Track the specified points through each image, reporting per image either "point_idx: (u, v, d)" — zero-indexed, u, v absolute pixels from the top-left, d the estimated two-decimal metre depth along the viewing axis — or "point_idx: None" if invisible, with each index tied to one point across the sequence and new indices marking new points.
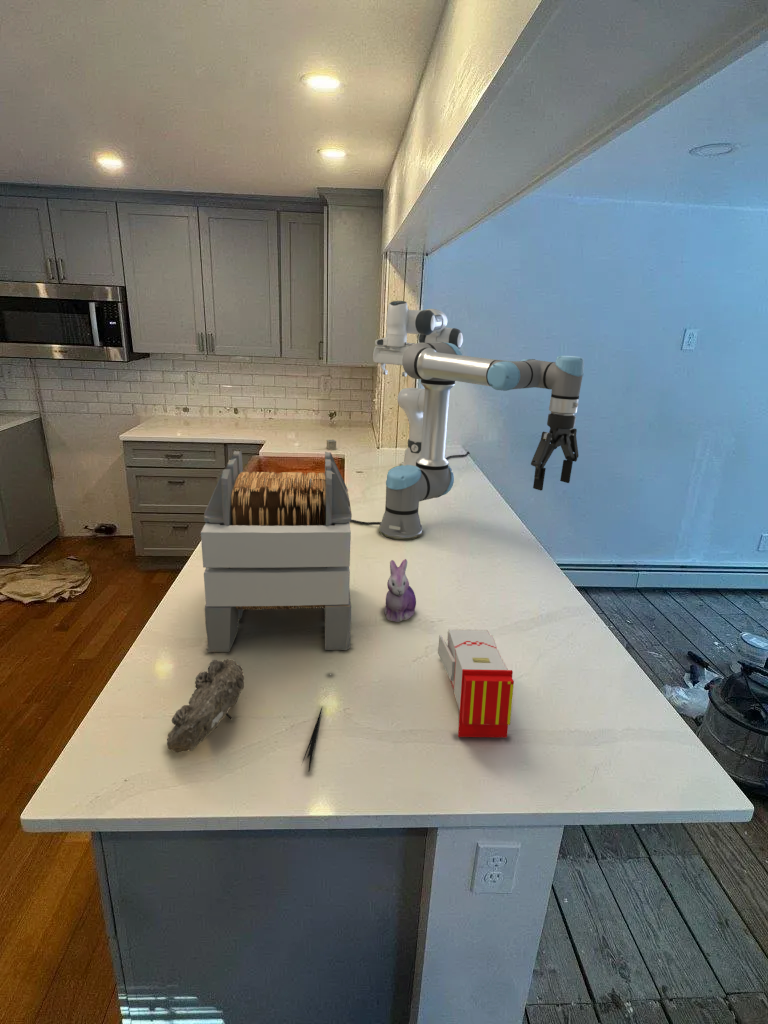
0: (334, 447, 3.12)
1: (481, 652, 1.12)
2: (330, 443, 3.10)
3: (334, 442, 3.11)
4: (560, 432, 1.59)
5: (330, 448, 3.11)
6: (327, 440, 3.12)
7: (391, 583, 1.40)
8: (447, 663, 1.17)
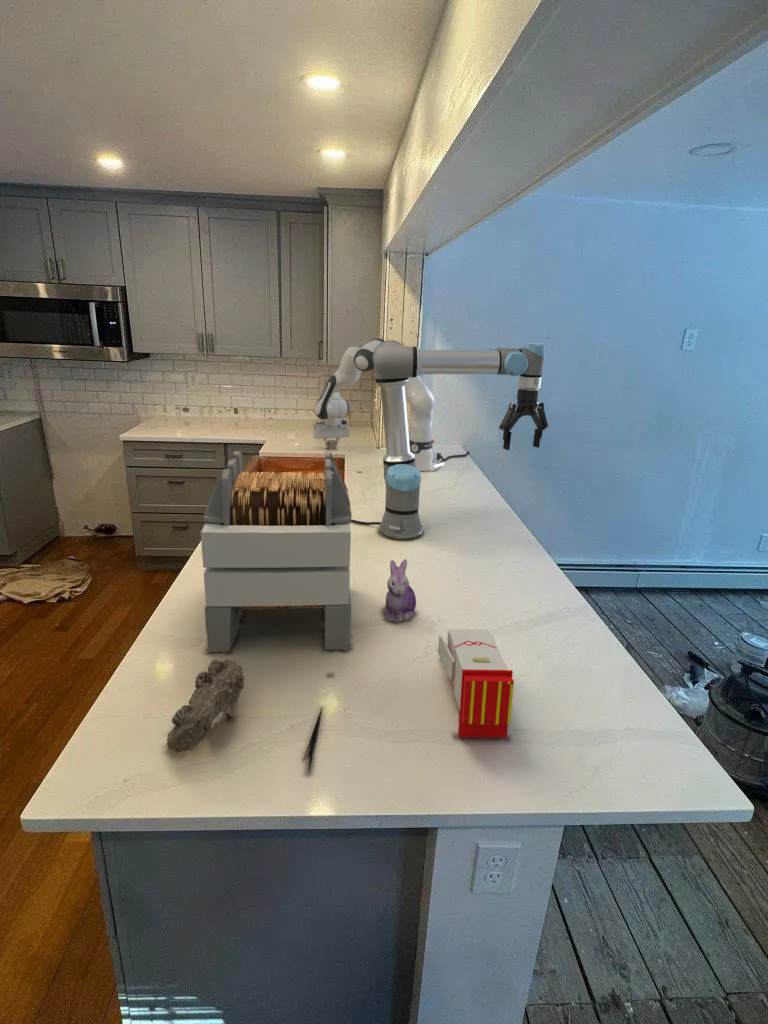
0: (334, 447, 3.12)
1: (481, 652, 1.12)
2: (330, 443, 3.10)
3: (334, 442, 3.11)
4: (526, 404, 1.99)
5: (330, 448, 3.11)
6: (327, 440, 3.12)
7: (391, 583, 1.40)
8: (447, 663, 1.17)
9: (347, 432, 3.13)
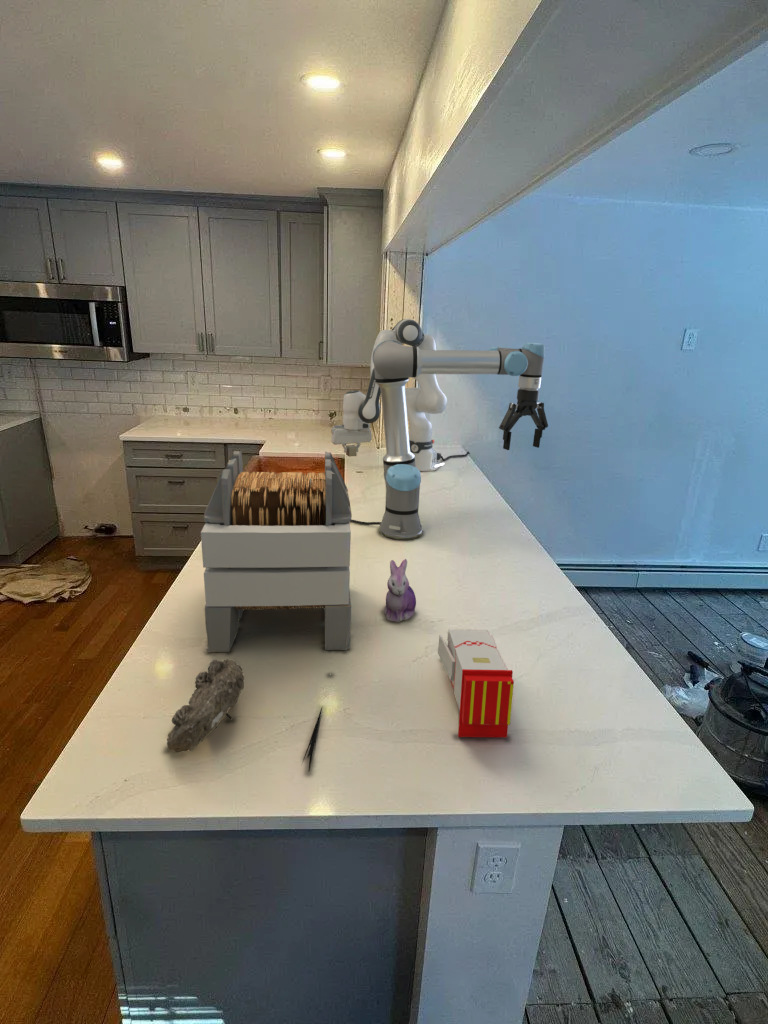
0: (354, 453, 2.79)
1: (481, 652, 1.12)
2: (350, 449, 2.77)
3: (354, 448, 2.78)
4: (526, 404, 1.99)
5: (350, 455, 2.78)
6: (346, 446, 2.79)
7: (391, 583, 1.40)
8: (447, 663, 1.17)
9: (369, 437, 2.79)
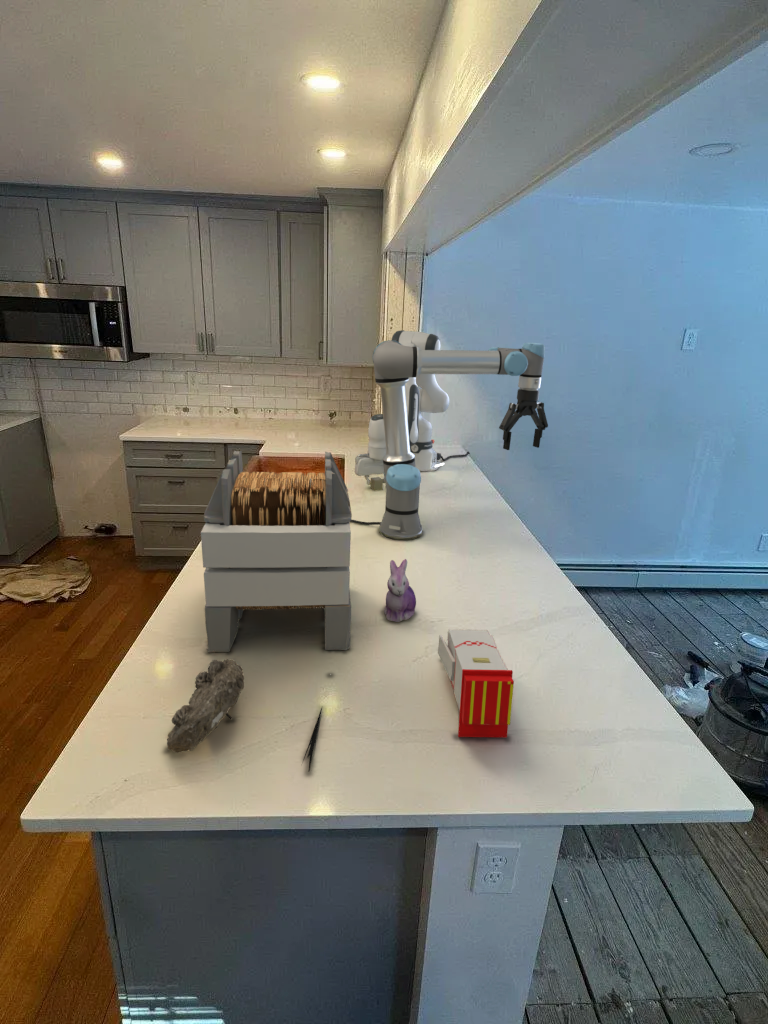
0: (380, 487, 2.47)
1: (481, 652, 1.12)
2: (376, 482, 2.45)
3: (380, 481, 2.46)
4: (526, 404, 1.99)
5: (375, 488, 2.46)
6: (371, 478, 2.47)
7: (391, 583, 1.40)
8: (447, 663, 1.17)
9: None
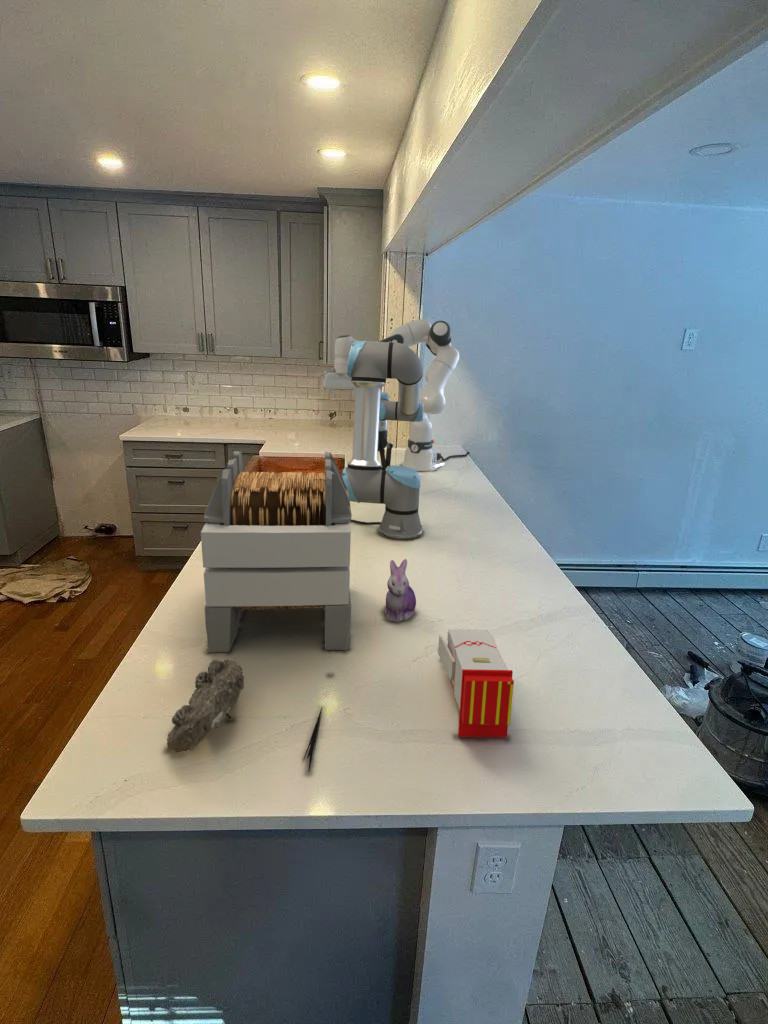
0: None
1: (481, 652, 1.12)
2: None
3: None
4: None
5: None
6: None
7: (391, 583, 1.40)
8: (447, 663, 1.17)
9: None
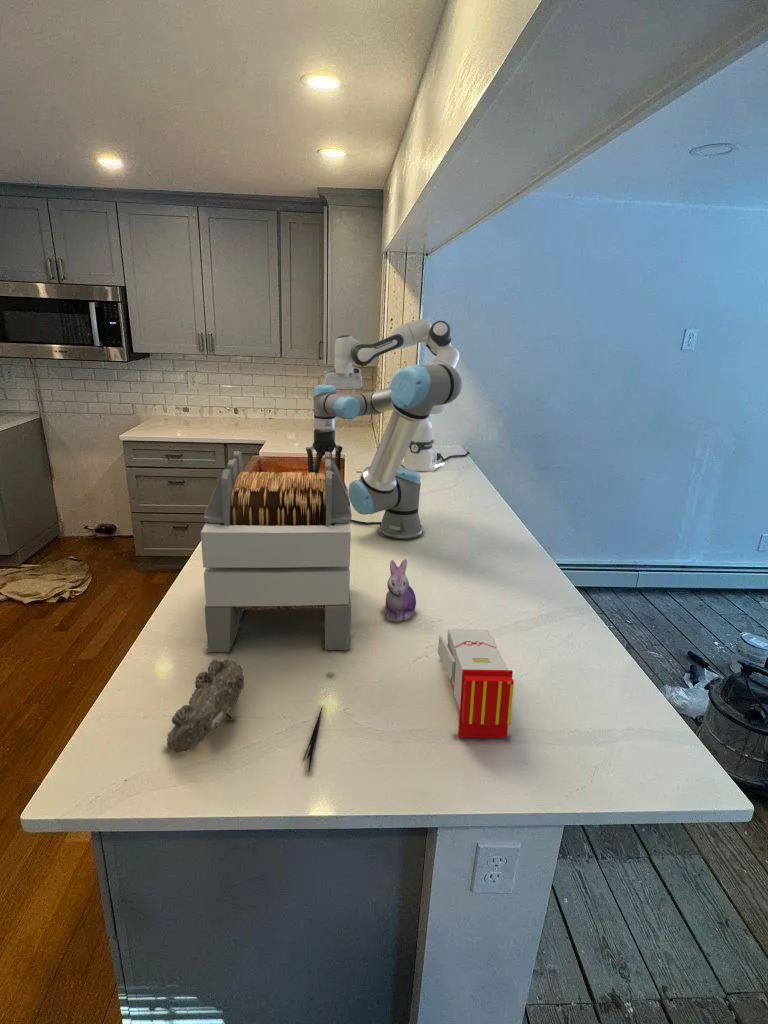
0: None
1: (481, 652, 1.12)
2: None
3: None
4: (321, 444, 2.02)
5: None
6: None
7: (391, 583, 1.40)
8: (447, 663, 1.17)
9: (360, 382, 2.86)
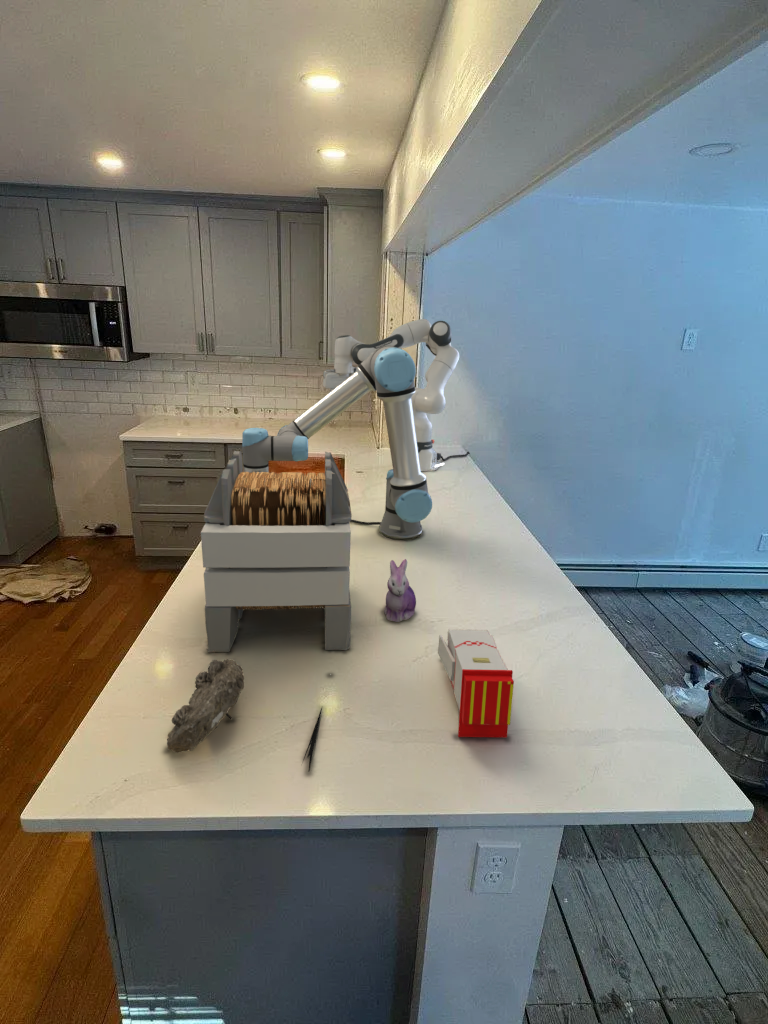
0: None
1: (481, 652, 1.12)
2: None
3: None
4: None
5: None
6: None
7: (391, 583, 1.40)
8: (447, 663, 1.17)
9: None
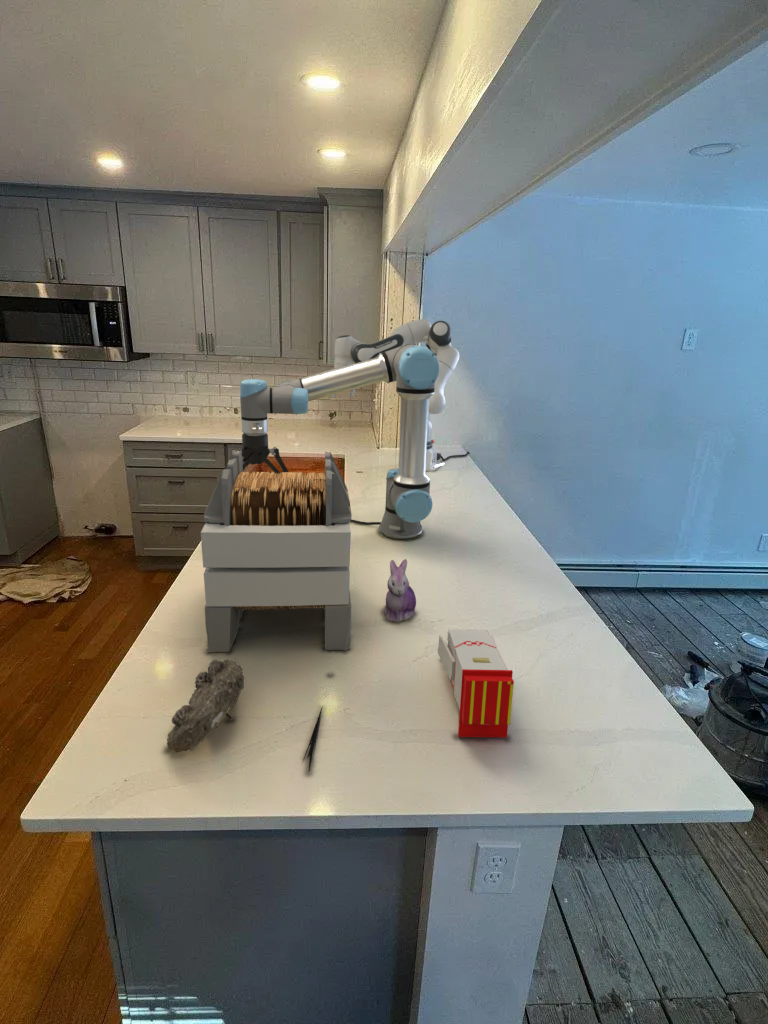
0: None
1: (481, 652, 1.12)
2: None
3: None
4: (252, 451, 1.68)
5: None
6: None
7: (391, 583, 1.40)
8: (447, 663, 1.17)
9: None
